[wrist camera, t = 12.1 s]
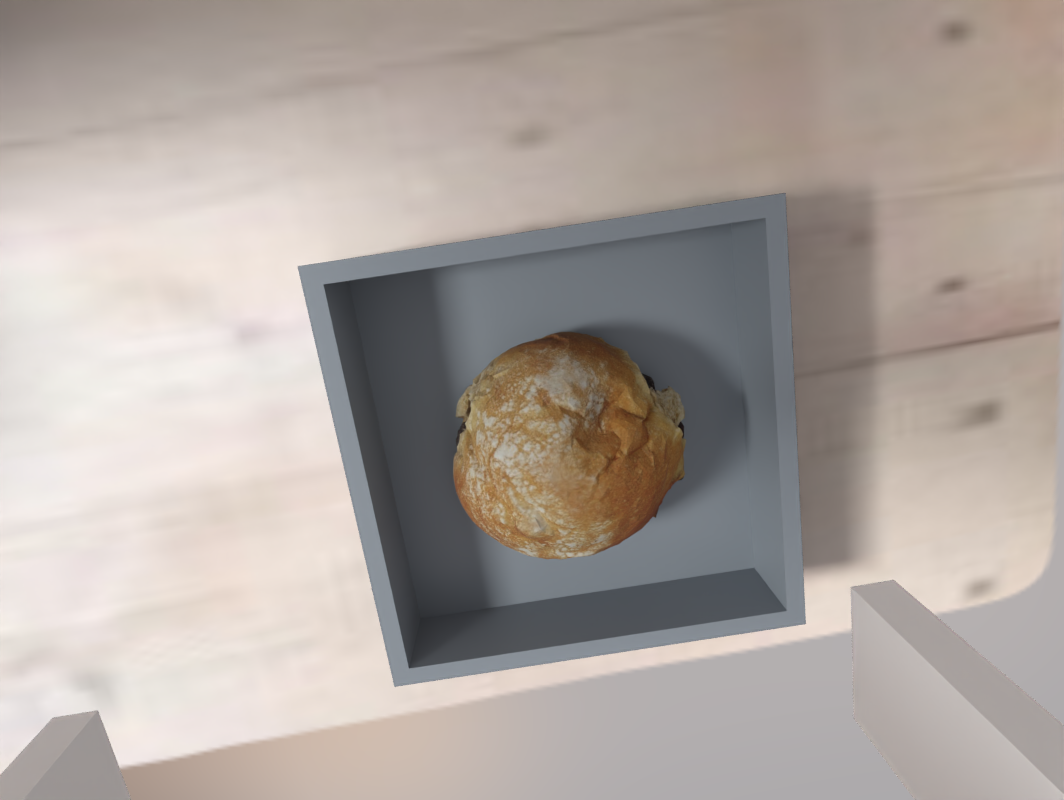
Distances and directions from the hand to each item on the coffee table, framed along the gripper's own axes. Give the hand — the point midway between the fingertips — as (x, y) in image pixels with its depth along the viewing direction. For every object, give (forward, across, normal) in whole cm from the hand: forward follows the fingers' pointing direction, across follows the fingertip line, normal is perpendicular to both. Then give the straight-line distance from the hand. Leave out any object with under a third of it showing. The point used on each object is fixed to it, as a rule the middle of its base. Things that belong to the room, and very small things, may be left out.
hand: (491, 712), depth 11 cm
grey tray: (+20, +3, -1) cm, 20 cm away
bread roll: (+19, +3, -1) cm, 20 cm away
